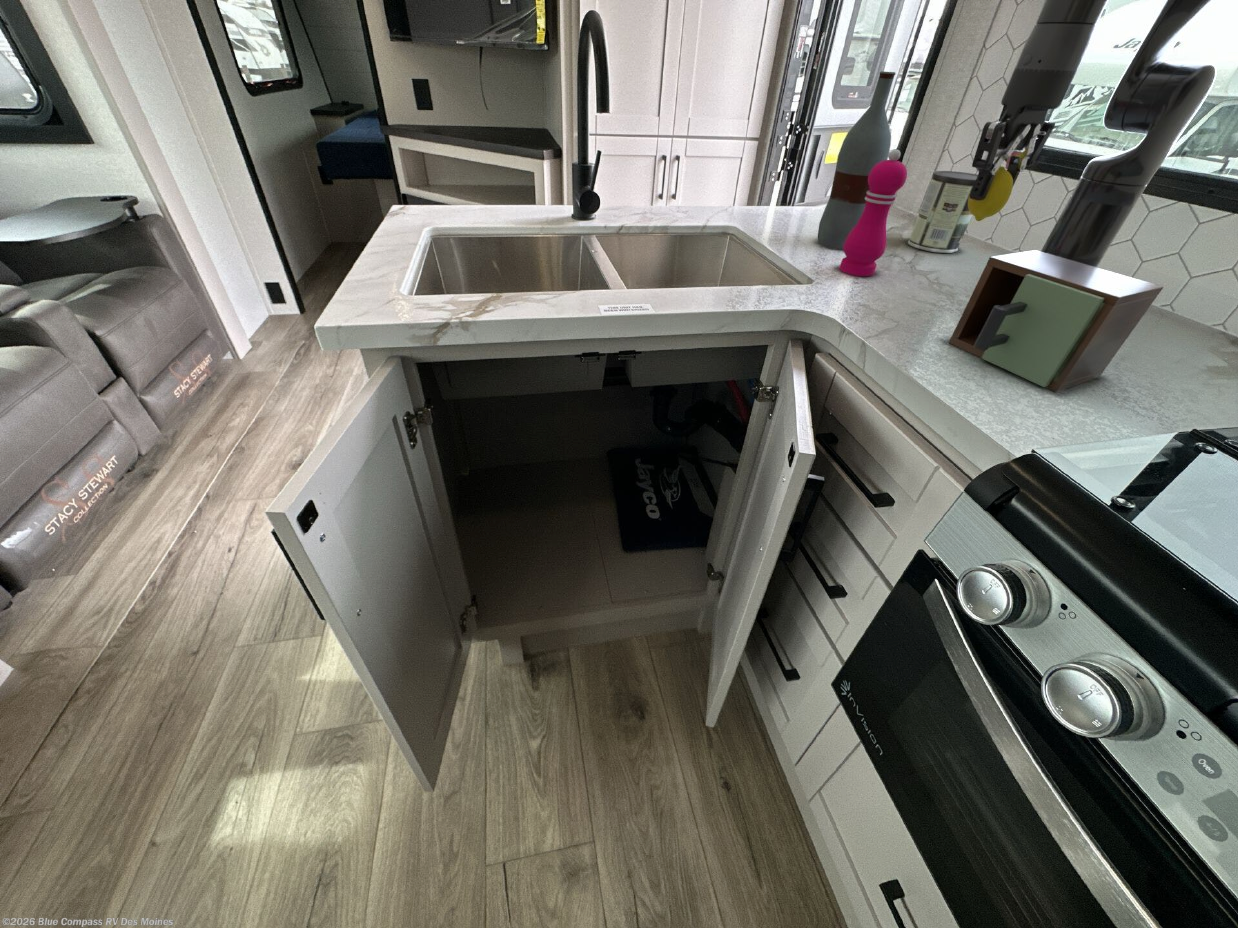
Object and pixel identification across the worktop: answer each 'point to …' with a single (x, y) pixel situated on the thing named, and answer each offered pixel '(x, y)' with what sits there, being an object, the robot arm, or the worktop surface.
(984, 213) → the lemon
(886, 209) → the pepper mill
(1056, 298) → the door
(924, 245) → the coffee can
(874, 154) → the bottle
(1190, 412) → the worktop surface
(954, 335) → the cabinet
